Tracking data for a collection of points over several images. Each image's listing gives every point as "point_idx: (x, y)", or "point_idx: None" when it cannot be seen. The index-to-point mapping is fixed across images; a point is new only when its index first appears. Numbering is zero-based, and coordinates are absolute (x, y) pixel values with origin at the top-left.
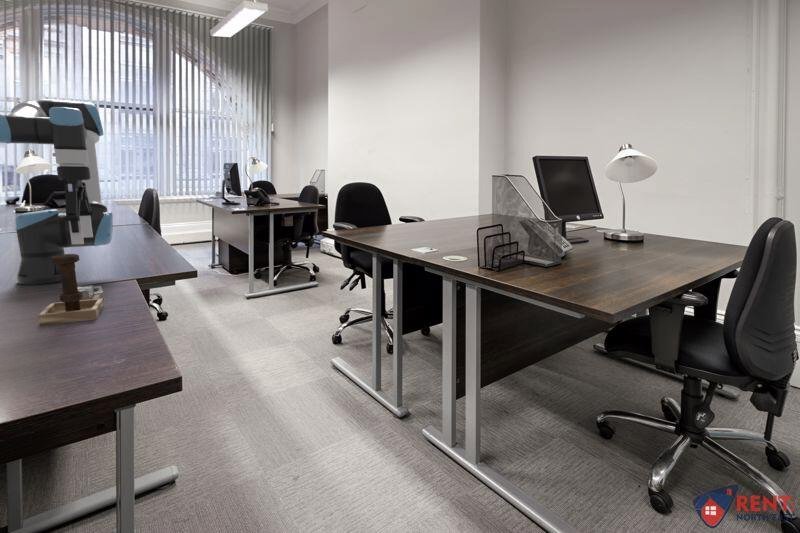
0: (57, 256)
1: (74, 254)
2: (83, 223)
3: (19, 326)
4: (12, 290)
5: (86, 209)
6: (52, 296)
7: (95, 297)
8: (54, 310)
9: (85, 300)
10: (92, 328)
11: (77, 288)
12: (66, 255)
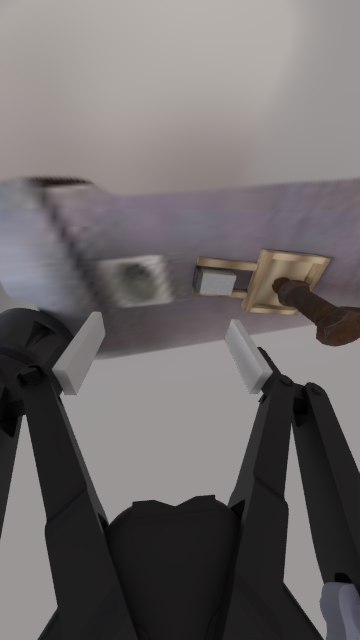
0: (343, 340)
1: (349, 319)
2: (87, 361)
3: (277, 323)
4: (101, 356)
5: (59, 407)
6: (154, 316)
7: (219, 264)
8: (254, 304)
9: (263, 275)
10: (355, 257)
11: (210, 292)
12: (347, 330)
